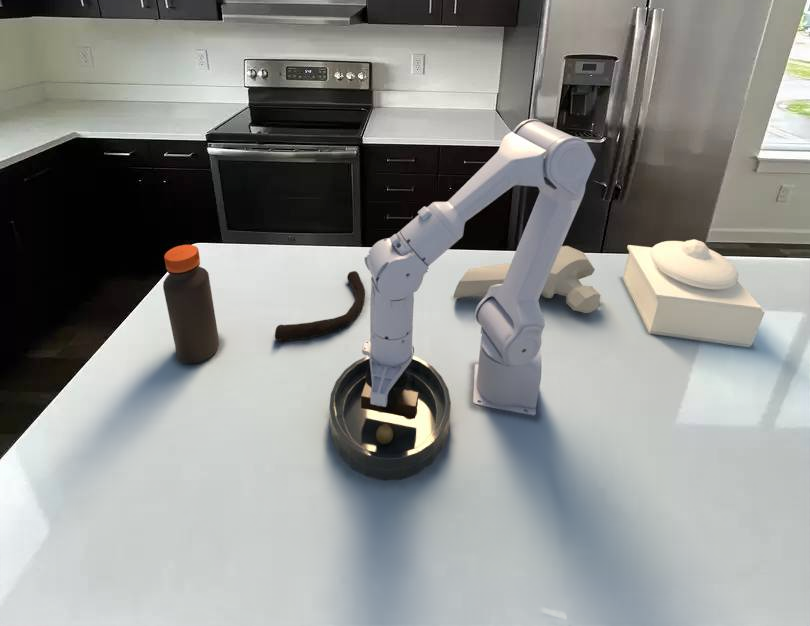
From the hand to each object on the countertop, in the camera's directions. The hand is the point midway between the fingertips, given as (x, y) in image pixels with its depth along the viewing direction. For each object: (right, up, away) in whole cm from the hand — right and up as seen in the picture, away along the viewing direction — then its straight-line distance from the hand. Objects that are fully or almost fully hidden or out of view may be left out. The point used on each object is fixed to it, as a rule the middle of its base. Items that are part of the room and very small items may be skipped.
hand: (390, 399), depth 62 cm
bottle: (-34, +1, +13) cm, 37 cm away
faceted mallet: (+27, +5, +29) cm, 40 cm away
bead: (-1, -5, -2) cm, 5 cm away
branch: (-14, +4, +24) cm, 28 cm away
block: (0, -1, 0) cm, 1 cm away
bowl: (0, -4, +1) cm, 4 cm away
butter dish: (+59, +3, +27) cm, 65 cm away
